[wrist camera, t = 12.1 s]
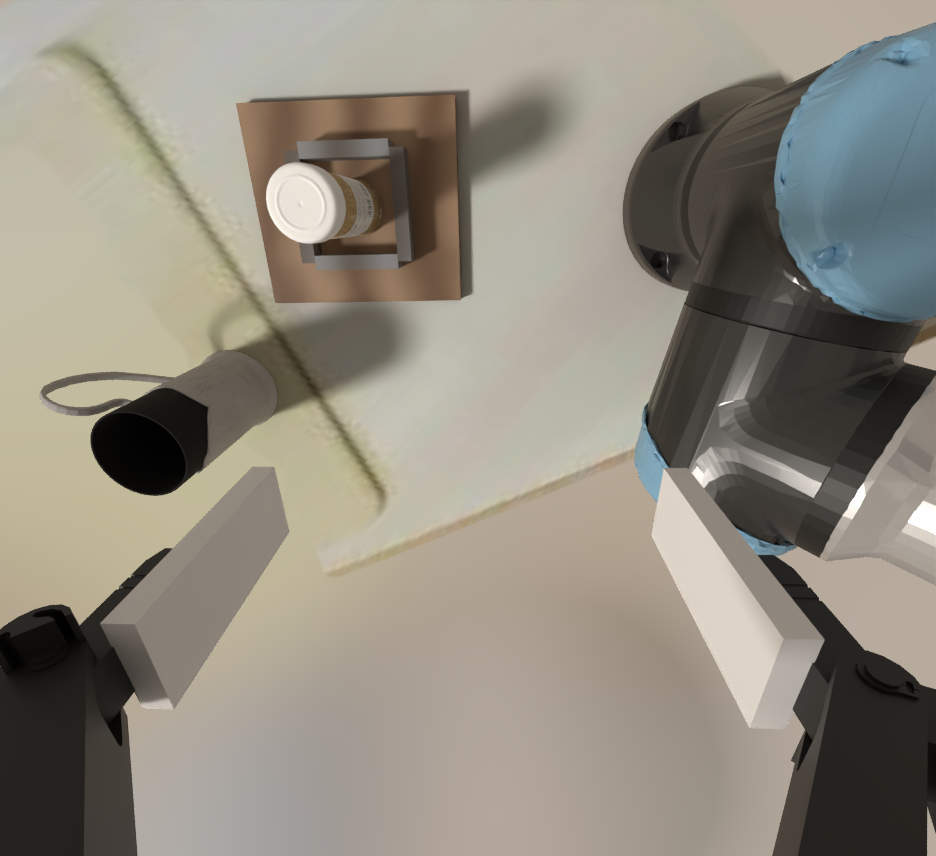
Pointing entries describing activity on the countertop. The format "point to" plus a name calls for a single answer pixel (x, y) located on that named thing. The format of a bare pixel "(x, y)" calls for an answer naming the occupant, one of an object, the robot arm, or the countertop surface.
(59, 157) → the countertop surface
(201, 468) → the grey mug
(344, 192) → the sprinkles bottle
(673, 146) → the robot arm
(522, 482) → the countertop surface
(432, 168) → the socket board
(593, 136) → the countertop surface
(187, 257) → the countertop surface
